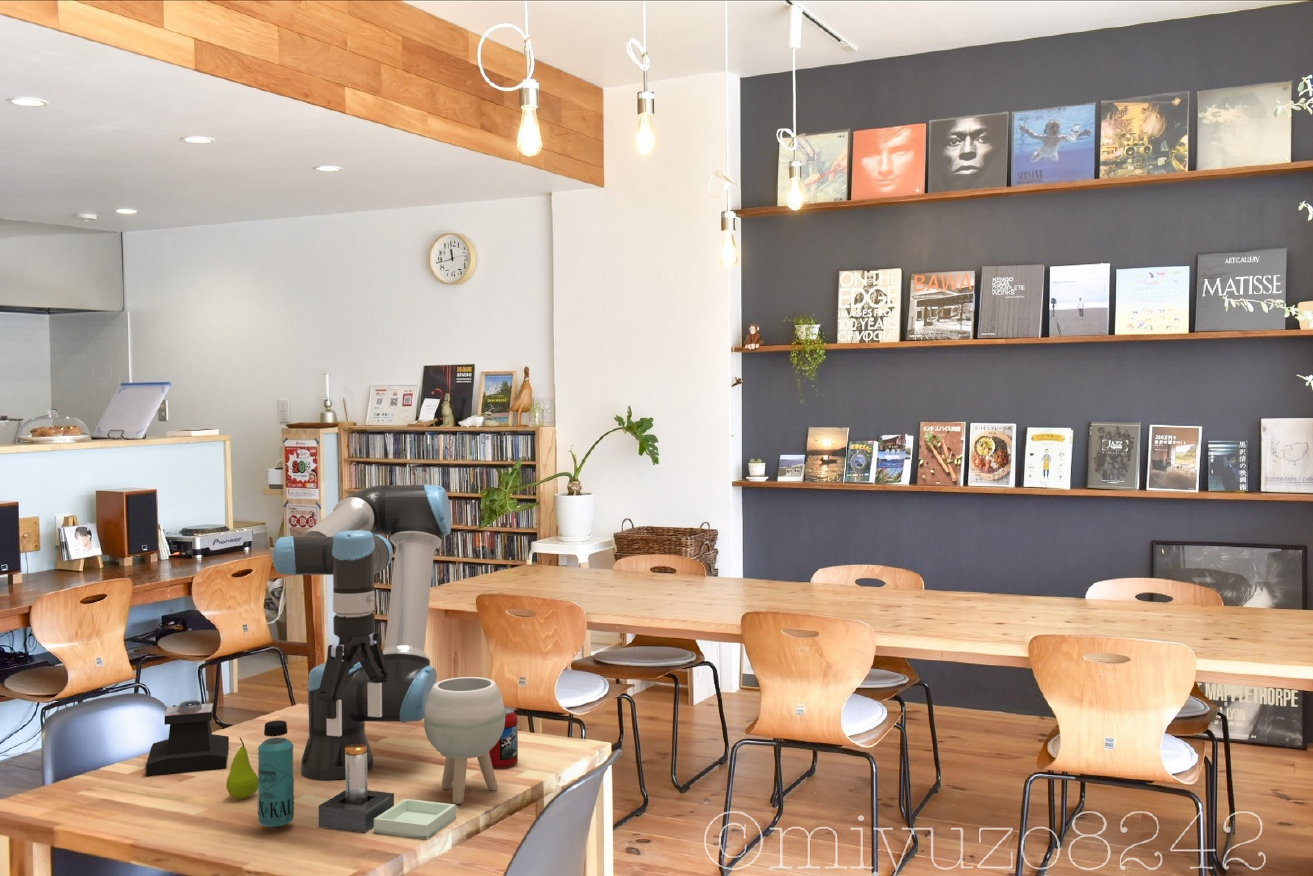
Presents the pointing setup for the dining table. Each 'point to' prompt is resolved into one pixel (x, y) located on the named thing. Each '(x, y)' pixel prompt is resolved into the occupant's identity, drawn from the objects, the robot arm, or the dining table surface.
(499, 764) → the beverage can
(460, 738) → the planter
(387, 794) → the collar
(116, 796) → the dining table surface
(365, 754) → the pin
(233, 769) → the fruit
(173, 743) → the black pedestal stand
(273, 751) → the beverage bottle
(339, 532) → the robot arm
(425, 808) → the tray
